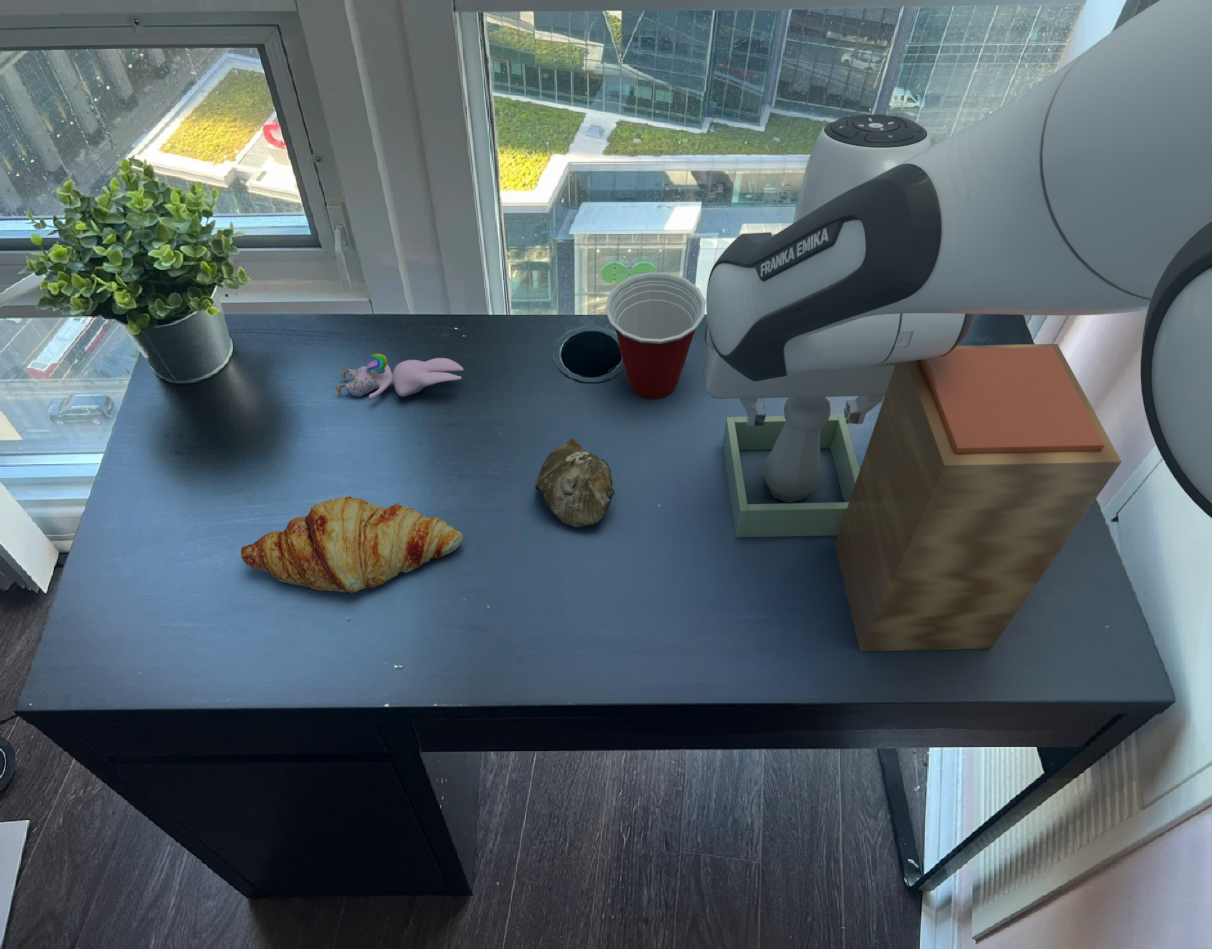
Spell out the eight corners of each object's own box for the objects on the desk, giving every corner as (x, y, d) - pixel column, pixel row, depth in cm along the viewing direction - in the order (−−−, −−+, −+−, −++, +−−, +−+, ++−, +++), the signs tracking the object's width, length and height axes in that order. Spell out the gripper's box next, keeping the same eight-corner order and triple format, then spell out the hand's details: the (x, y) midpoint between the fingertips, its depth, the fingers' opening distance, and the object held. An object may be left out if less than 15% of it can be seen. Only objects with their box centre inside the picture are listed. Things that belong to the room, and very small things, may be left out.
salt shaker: (803, 518, 86) (827, 431, 76) (752, 496, 88) (768, 409, 78) (823, 479, 89) (849, 392, 80) (773, 459, 91) (792, 371, 81)
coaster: (1049, 352, 64) (1052, 346, 63) (1101, 450, 57) (1105, 445, 57) (917, 354, 64) (919, 349, 63) (954, 453, 57) (957, 447, 57)
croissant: (468, 543, 89) (459, 473, 86) (466, 590, 80) (455, 513, 77) (262, 566, 87) (245, 495, 84) (234, 616, 77) (214, 539, 74)
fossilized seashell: (632, 510, 84) (608, 450, 92) (595, 474, 80) (573, 414, 87) (572, 550, 86) (554, 488, 93) (533, 517, 81) (517, 454, 89)
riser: (954, 541, 84) (1057, 343, 64) (991, 649, 76) (1122, 461, 57) (834, 543, 84) (901, 346, 64) (859, 651, 76) (944, 465, 57)
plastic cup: (594, 404, 97) (591, 323, 88) (622, 345, 104) (622, 264, 95) (684, 425, 95) (691, 344, 86) (708, 363, 101) (716, 281, 92)
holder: (836, 442, 93) (844, 414, 89) (860, 535, 85) (870, 507, 81) (722, 445, 93) (726, 416, 89) (735, 537, 85) (740, 510, 81)
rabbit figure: (340, 415, 98) (463, 403, 96) (318, 378, 94) (446, 364, 92) (353, 378, 102) (470, 365, 100) (332, 341, 98) (455, 327, 96)
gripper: (711, 333, 68) (698, 446, 79) (962, 328, 68) (916, 442, 79) (704, 285, 72) (693, 399, 83) (941, 280, 72) (899, 395, 83)
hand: (803, 420), depth 81 cm, fingers open, 8 cm apart
